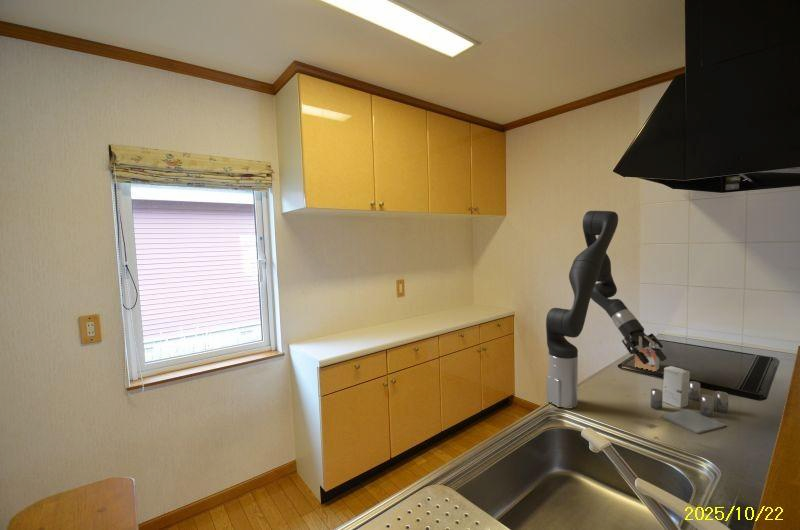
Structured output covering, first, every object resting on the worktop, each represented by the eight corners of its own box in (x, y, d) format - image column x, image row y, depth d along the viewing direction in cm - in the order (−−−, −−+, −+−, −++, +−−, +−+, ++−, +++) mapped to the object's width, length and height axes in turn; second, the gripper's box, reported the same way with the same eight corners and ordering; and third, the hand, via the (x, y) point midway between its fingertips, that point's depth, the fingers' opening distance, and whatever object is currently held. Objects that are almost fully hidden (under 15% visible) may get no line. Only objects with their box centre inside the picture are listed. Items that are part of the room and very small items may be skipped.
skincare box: (661, 401, 127) (662, 367, 126) (669, 399, 129) (670, 365, 128) (681, 408, 121) (682, 373, 121) (689, 406, 123) (690, 370, 122)
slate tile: (697, 433, 106) (697, 431, 106) (660, 416, 116) (660, 415, 116) (725, 426, 109) (725, 424, 109) (686, 410, 120) (686, 409, 120)
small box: (634, 367, 161) (634, 344, 160) (638, 364, 165) (638, 341, 164) (656, 372, 155) (656, 347, 155) (659, 368, 159) (659, 345, 158)
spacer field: (686, 423, 112) (686, 404, 111) (648, 406, 123) (648, 389, 123) (732, 411, 118) (733, 393, 118) (692, 397, 130) (692, 380, 130)
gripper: (619, 320, 137) (648, 359, 126) (647, 316, 141) (677, 354, 131) (607, 331, 142) (634, 369, 132) (634, 327, 146) (662, 364, 136)
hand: (655, 361), depth 131 cm, fingers open, 8 cm apart
